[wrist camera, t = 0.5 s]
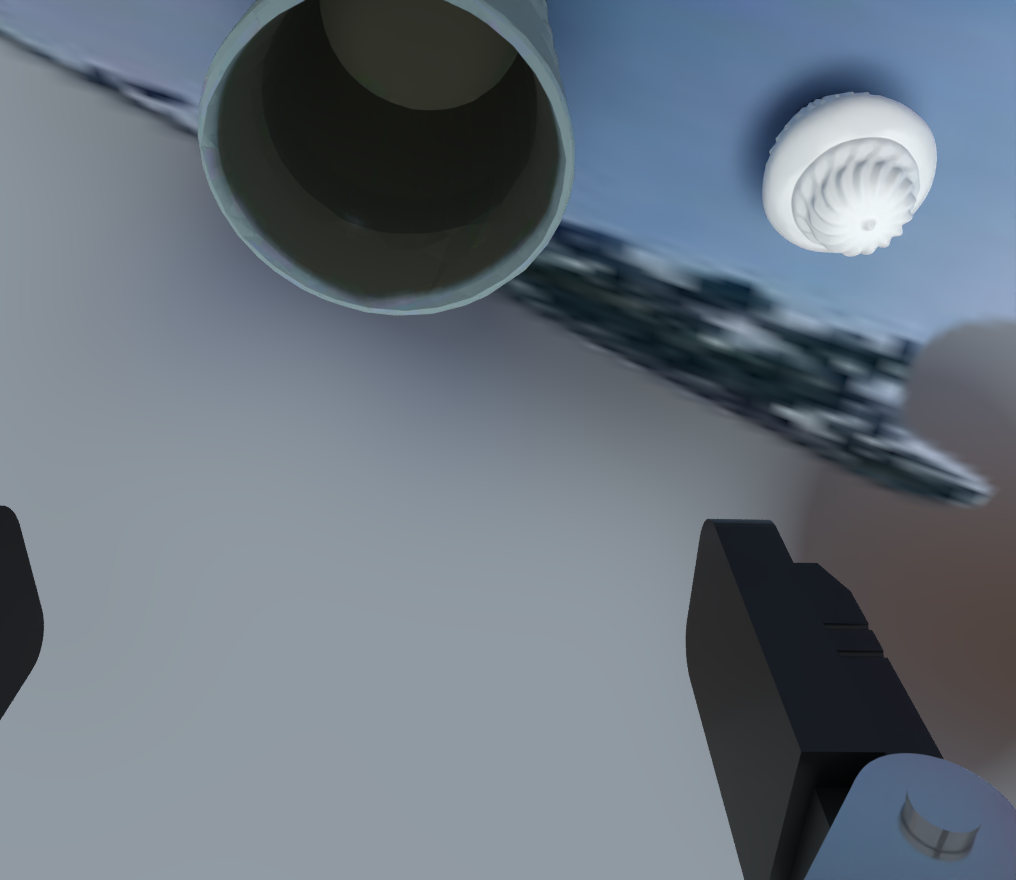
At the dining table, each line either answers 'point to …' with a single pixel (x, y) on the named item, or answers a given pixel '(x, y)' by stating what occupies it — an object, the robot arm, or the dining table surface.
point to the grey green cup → (390, 145)
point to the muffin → (848, 173)
